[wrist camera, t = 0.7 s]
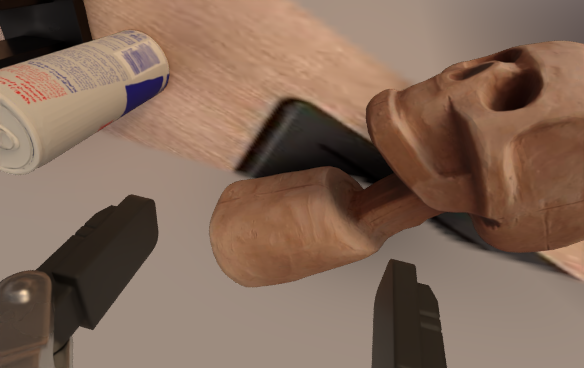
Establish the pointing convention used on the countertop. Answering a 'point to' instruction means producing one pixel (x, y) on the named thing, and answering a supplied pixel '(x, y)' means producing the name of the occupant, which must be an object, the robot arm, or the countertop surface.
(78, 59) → the beverage can
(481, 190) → the sculpture
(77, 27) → the bracket
